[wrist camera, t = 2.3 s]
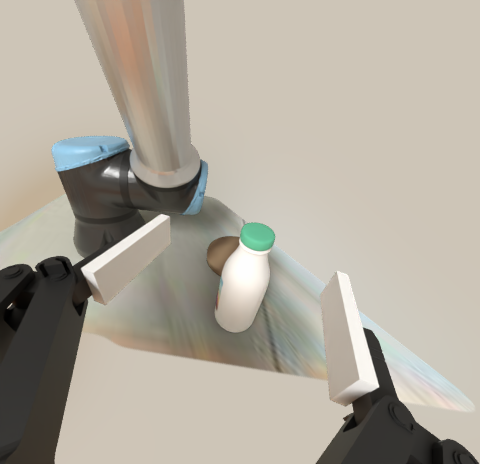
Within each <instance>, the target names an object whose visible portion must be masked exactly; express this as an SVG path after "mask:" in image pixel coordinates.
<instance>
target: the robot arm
mask: <svg viewBox="0 0 480 464" xmlns="http://www.w3.org/2000/svg"><path fill="white" fill-rule="evenodd" d="M75 3H76V5H77V8H78V10H79V12H80V15H81V17H82V20H83V22H84V25H85V27H86V30H87V32H88V35H89V37H90V40H91V42H92V45H93V47H94V50H95V52H96V55H97V57H98V60H99V62H100V65H101V67H102V69H103V72H104V75H105V77H106V80H107V82H108V84H109V87H110V90H111V92H112V95H113V97H114V100H115V102H116V104H117V107H118V110H119V112H120V114H121V117H122V120H123V122H124V124H125V127H126V129H127V132H128V134H129V137H130V139H131V142H132V144H133V147H134V148H133V149H132V150H131V149H129V147H130V145H129V144H128V142H127V141H126V140H125V139H124V138H120V137H113V136H86V137H76V138H69V139H65V140H61V141H59V142H57V143H55V144H54V145H53V147H52V155H53V158H54V162H55V166H56V168H55V169H56V171H57V172H58V174H59V177H60V179H61V182H62V184H63V187H64V190H65V192H66V195H67V197H68V200H69V202H70V205H71V207H72V210H73V213H74V215H75V218H76V220H75V231H74V244H75V247H76V249H77V252H78V253H79V254H80V255H81V256H82V257H84V258H85V259H83V260H82V261H80V262H78V263H77V264H75V265H74V266H72V264H71V262H70V260H69V259H68V258H67V257H64V256H56V257H51V258H48V259H45V260H43V261H41V262H40V263H38V264H37V265H36V267H35V268H36V270H37V272H35V271H33V270H32V268H31V267H30V266H29V265H26V264H17V265H13V266H9V267H7V268H4V269H2V270H0V464H55V463H54V459H55V452H56V447H57V443H58V438H59V433H60V429H61V424H62V420H63V415H64V410H65V406H66V401H67V396H68V392H69V387H70V382H71V378H72V374H73V369H74V364H75V360H76V355H77V350H78V346H79V341H80V337H81V332H82V328H83V323H84V318H85V314H86V309H87V305H88V299H87V298H89V297H90V296H91V295H92V296H93V298H94V300H95V301H96V302H99V303H101V304H103V305H106V304H107V303H109V302H110V301H111V300H112V299H113V298H114V297H115V296H116V295H117V294H118V293H119V292H120V291H121V290H122V289H123V288H124V287H125V286H126V285H128V284H129V283H130V282H131V281H132V280H133V279H134V278H135V277H136V276H137V275H138V274H139V273H140V272H141V271H142V270H143V269H144V268H145V267H147V266H148V265H149V264H150V263H151V262H152V261H153V260H154V259H155V258H156V257H157V256H158V255H159V254H160V253H161V252H162V251H163V250H164V249H165V248H167V247H168V246H169V245H170V244H171V232H170V216H167V215H164V214H160V215H159V216H157V217H156V218H154V219H153V220H152V221H150V222H149V223H147V224H146V223H145V221H144V220H143V218H142V216H141V215H140V213H139V211H138V209H140V210H149V211H159V212H168V213H178V214H180V215H185V214H189V215H195V214H197V213H199V212H200V210H201V207H202V204H203V199H204V193H205V188H206V182H207V175H208V164H207V163H206V162H205V161H202V160H200V157H199V154H198V151H197V150H196V148H195V147H194V146H193V145H192V144H191V137H190V116H189V96H188V78H187V77H188V75H187V55H186V36H185V14H184V0H75ZM320 298H321V309H322V320H323V331H324V341H325V352H326V363H327V374H328V385H329V395H330V400H332V401H334V402H336V403H339V404H341V405H344V406H347V405H349V404H351V403H352V404H353V411H354V412H353V413H351V414H349V415H347V416H346V417H344V418H343V419H344V421H346V422H345V423H344V425H343V426H342V427H341V429H340V430H339V432H338V433H337V434H336V436H335V437H334V439H333V440H332V441H331V443H330V444H329V446H328V447H327V448H326V450H325V451H324V453H323V454H322V455H321V457H320V458H319V460H318V461H317V463H316V464H479V463H478V462H477V460H476V459H475V458H474V456H473V455H472V454H471V453H470V452H469V451H468V450H467V449H465V447H463V446H462V445H461V444H459V443H457V442H456V441H454V440H450V439H446V440H442V441H441V440H439V439H438V438H437V437H435V436H434V435H433V434H431V433H430V432H429V431H427V430H426V429H424V428H423V427H422V426H420V425H419V424H418V423H417V422H416V421H415V420H414V418H413V416H412V414H411V413H410V411H409V410H408V409H407V407H406V406H405V405H404V404H403V403H402V402H400V401H399V399H398V397H397V394H396V391H395V388H394V385H393V382H392V379H391V376H390V373H389V370H388V367H387V364H386V362H385V358H384V355H383V353H382V349H381V346H380V343H379V341H378V339H377V338H376V336H375V335H374V333H373V332H372V330H369V329H366V328H363V327H362V323H361V320H360V316H359V313H358V309H357V306H356V302H355V298H354V295H353V291H352V288H351V284H350V281H349V277H348V274H345V273H342V272H339V271H336V273H335V274H334V275H333V277H332V278H331V280H330V281H329V283H328V284H327V286H326V287H325V289H324V290H323V292H322V293H321V295H320ZM11 303H12V305H11V306H10V307H9V308H8V306H9V305H10V304H11ZM7 308H8V309H7Z"/></svg>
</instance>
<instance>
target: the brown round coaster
mask: <svg viewBox="0 0 480 464" xmlns="http://www.w3.org/2000/svg"><path fill="white" fill-rule="evenodd" d="M239 239H240V238H239V237H233V236H227V237H221V238H218V239H216V240H214V241H213V242H212V243H211V244H210V245H209V247H208V251H207V262H208V265H209V267H210V268H211V269H212V270H213V271H214V272H215V273H216V274H218V275H219V276H221V275H222V271H223V268H224V265H225V263H226V261H227V259H228V258H229V257H230V256H231V254H232V253H233V252H234V251H235V250H236V249H237V248H238V246H239V245H240V243H239Z"/></svg>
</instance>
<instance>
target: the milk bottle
mask: <svg viewBox="0 0 480 464" xmlns="http://www.w3.org/2000/svg"><path fill="white" fill-rule="evenodd" d="M274 240H275V234H274V232H273V231H272V229H270V228H269V227H268V226H266V225H263V224H260V223H248V224H246V225H244V226H243V228H242V230H241V234H240V239H239V243H240V245H239V246H238V248H237V249H236V250H235V251H234V252H233V253H232V254H231V256H230V257H229V258H228V259H227V261H226V263H225V265H224V268H223V271H222V275H221V279H220V284H219V289H218V294H217V300H216V305H215V317H216V320H217V322H218V323H219V325H220V326H221V327H222V328H224V329H225V330H227V331H229V332H235V333H237V332H242V331H245V330H246V329H248V328H249V327H250V326H251V324H252V323H253V321H254V318H255V316H256V314H257V312H258V309H259V307H260V304H261V302H262V300H263V297H264V295H265V292H266V289H267V287H268V284H269V279H270V267H269V262H268V253H269V252H270V251H271V248H272V246H273V243H274Z"/></svg>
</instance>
